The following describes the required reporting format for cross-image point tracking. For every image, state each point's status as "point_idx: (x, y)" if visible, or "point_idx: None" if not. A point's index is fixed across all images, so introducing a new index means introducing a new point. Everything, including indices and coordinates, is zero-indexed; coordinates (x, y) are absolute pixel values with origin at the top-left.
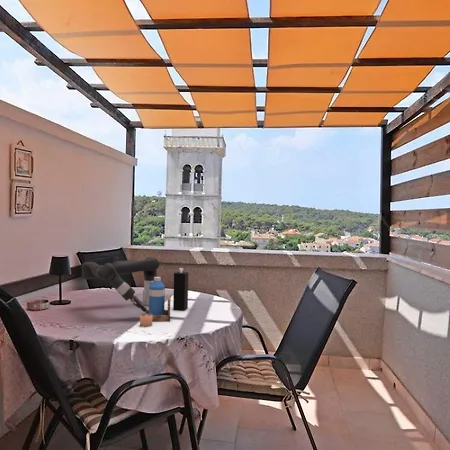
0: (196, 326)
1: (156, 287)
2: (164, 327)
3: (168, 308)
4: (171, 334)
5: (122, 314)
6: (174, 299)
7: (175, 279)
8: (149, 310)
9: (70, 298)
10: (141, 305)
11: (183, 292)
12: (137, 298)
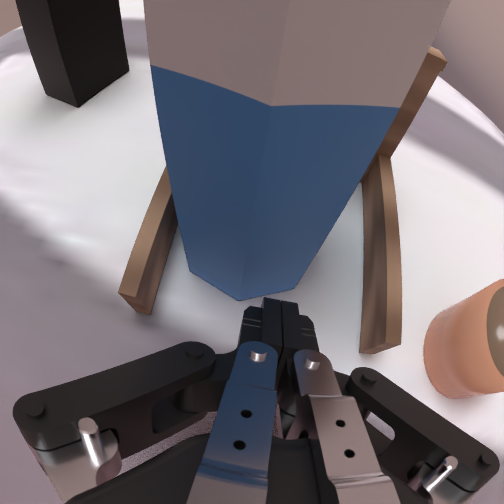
0: (448, 120)
1: None
2: (490, 245)
3: (404, 116)
4: None
5: (38, 488)
6: (66, 48)
7: None
8: (258, 267)
9: None
10: (374, 376)
11: None
12: (268, 473)
